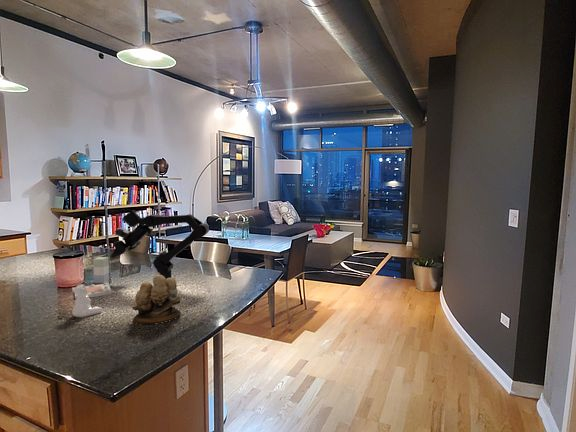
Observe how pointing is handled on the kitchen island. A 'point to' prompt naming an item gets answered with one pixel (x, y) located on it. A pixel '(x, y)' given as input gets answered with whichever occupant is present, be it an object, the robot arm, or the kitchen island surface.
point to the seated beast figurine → (83, 303)
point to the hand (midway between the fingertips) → (116, 255)
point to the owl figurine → (157, 301)
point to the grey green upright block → (101, 269)
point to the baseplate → (97, 290)
